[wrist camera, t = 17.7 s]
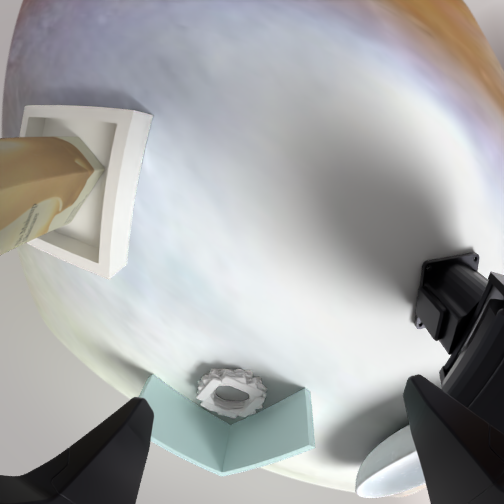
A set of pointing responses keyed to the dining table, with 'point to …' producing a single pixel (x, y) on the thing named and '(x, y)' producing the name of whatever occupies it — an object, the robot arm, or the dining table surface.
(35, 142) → the skincare box
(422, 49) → the dining table surface
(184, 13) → the dining table surface
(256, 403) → the right angle wall
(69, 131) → the holder tray
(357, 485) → the serving bowl
